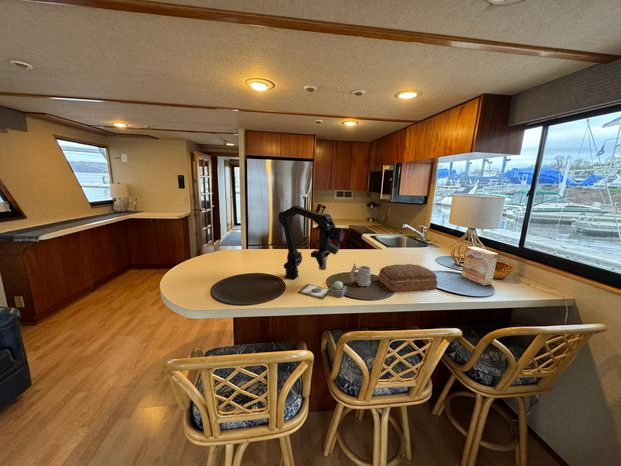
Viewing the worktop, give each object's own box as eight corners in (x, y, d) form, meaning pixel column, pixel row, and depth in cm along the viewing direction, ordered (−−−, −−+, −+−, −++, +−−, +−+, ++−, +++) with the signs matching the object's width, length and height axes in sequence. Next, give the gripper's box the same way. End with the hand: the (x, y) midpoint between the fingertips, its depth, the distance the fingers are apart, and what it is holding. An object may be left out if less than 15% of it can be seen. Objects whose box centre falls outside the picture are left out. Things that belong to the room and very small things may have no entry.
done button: (332, 290, 125) (333, 283, 124) (335, 287, 128) (336, 280, 128) (340, 292, 123) (341, 285, 122) (343, 289, 127) (343, 282, 126)
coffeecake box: (460, 275, 156) (466, 246, 152) (469, 274, 158) (474, 246, 154) (483, 285, 142) (490, 253, 138) (492, 284, 145) (498, 253, 140)
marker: (317, 269, 130) (318, 256, 129) (320, 266, 134) (321, 254, 132) (324, 270, 129) (324, 258, 127) (327, 268, 132) (327, 256, 131)
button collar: (329, 293, 124) (329, 288, 124) (333, 288, 130) (334, 283, 130) (342, 297, 121) (342, 291, 121) (346, 291, 127) (346, 286, 127)
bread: (376, 279, 145) (378, 261, 143) (420, 277, 151) (422, 260, 149) (390, 292, 129) (393, 272, 127) (439, 290, 135) (442, 270, 132)
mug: (371, 287, 134) (373, 267, 131) (349, 286, 134) (351, 265, 132) (368, 281, 141) (370, 262, 139) (348, 280, 142) (350, 261, 139)
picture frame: (297, 292, 124) (297, 291, 124) (307, 284, 134) (307, 283, 134) (322, 299, 118) (322, 297, 118) (331, 290, 128) (331, 289, 128)
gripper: (331, 244, 116) (329, 274, 119) (344, 236, 132) (342, 263, 136) (310, 241, 121) (309, 270, 124) (325, 234, 137) (323, 260, 140)
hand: (322, 266), depth 131 cm, fingers closed on marker, 4 cm apart
